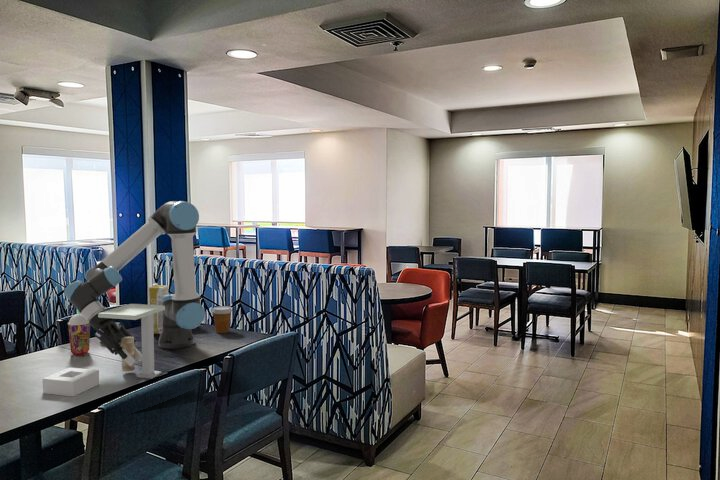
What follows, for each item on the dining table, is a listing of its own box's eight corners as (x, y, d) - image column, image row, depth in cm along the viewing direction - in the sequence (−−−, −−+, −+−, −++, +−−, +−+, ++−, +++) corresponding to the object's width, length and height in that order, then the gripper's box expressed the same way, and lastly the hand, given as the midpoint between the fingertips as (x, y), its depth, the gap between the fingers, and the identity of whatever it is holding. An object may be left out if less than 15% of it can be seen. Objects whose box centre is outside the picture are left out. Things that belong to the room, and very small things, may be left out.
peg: (133, 366, 197) (132, 336, 196) (135, 370, 193) (134, 338, 193) (121, 368, 195) (120, 337, 194) (123, 372, 191) (122, 340, 190)
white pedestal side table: (99, 380, 186) (98, 313, 185) (131, 364, 204) (130, 303, 202) (141, 384, 183) (140, 316, 181) (170, 368, 200) (169, 306, 199)
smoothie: (81, 357, 212) (80, 309, 211) (64, 356, 214) (62, 308, 212) (95, 352, 220) (94, 305, 219) (78, 350, 222) (77, 304, 221)
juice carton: (156, 329, 260) (155, 282, 258) (171, 330, 259) (170, 282, 257) (146, 333, 251) (145, 285, 249) (161, 334, 250) (160, 285, 248)
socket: (70, 381, 185) (69, 367, 185) (99, 384, 183) (98, 370, 182) (42, 393, 173) (42, 378, 173) (73, 396, 171) (73, 381, 170)
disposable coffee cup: (214, 335, 251) (214, 310, 250) (210, 330, 259) (210, 306, 258) (234, 332, 255) (234, 309, 254) (229, 328, 264) (229, 305, 263)
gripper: (107, 317, 204) (145, 361, 202) (74, 328, 187) (115, 375, 185) (118, 304, 203) (157, 348, 201) (86, 314, 186) (128, 362, 184)
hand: (137, 361), depth 193 cm, fingers closed on peg, 4 cm apart
